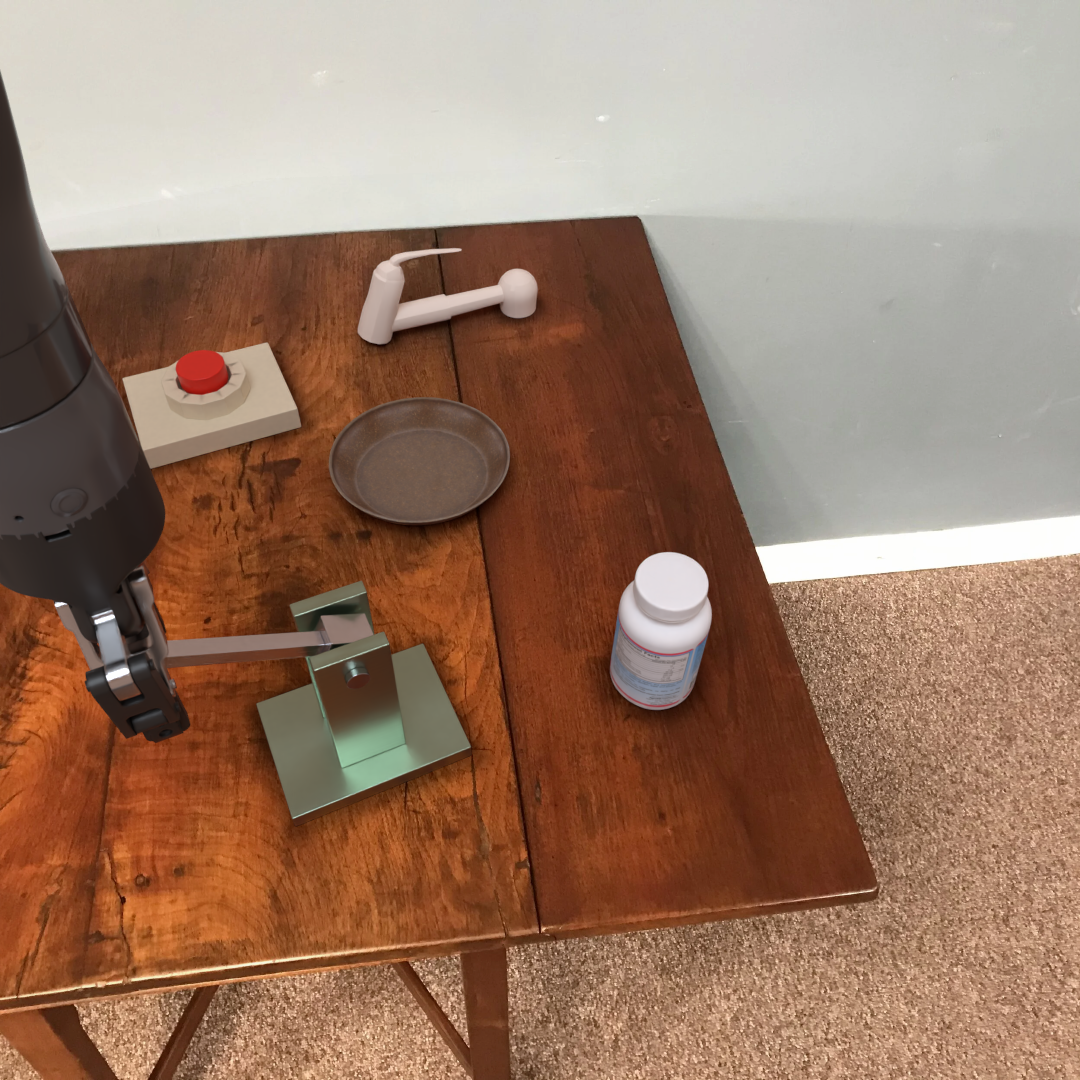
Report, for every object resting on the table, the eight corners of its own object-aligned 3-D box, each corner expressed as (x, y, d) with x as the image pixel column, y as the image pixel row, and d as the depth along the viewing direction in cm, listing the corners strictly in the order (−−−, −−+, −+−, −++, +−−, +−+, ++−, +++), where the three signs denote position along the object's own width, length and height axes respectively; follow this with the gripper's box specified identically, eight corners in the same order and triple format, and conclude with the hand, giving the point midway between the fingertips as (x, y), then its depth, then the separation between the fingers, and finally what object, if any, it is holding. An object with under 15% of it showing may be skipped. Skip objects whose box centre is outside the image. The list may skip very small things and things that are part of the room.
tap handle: (134, 712, 47) (142, 682, 46) (117, 634, 50) (124, 603, 49) (372, 687, 55) (385, 660, 54) (345, 620, 58) (357, 594, 57)
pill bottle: (651, 626, 70) (672, 527, 61) (711, 682, 67) (741, 585, 58) (591, 670, 67) (603, 572, 58) (650, 729, 64) (672, 636, 56)
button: (186, 400, 79) (180, 384, 78) (176, 372, 81) (170, 356, 80) (233, 388, 80) (228, 372, 79) (222, 361, 82) (218, 344, 81)
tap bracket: (295, 827, 59) (253, 726, 49) (259, 712, 64) (215, 600, 54) (472, 755, 62) (466, 648, 53) (424, 652, 68) (410, 536, 58)
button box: (150, 469, 79) (135, 434, 76) (129, 396, 84) (115, 361, 81) (301, 427, 83) (294, 392, 79) (272, 360, 88) (263, 325, 85)
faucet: (526, 354, 97) (559, 270, 91) (363, 345, 88) (387, 251, 82) (512, 332, 99) (543, 248, 93) (352, 321, 91) (374, 228, 84)
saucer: (386, 400, 85) (383, 376, 83) (536, 446, 82) (537, 424, 80) (298, 510, 76) (292, 487, 74) (463, 568, 73) (461, 545, 71)
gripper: (-73, 376, 41) (66, 606, 53) (-53, 624, 32) (106, 827, 45) (108, 334, 43) (199, 565, 56) (170, 556, 35) (261, 768, 47)
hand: (157, 681), depth 50 cm, fingers open, 5 cm apart
